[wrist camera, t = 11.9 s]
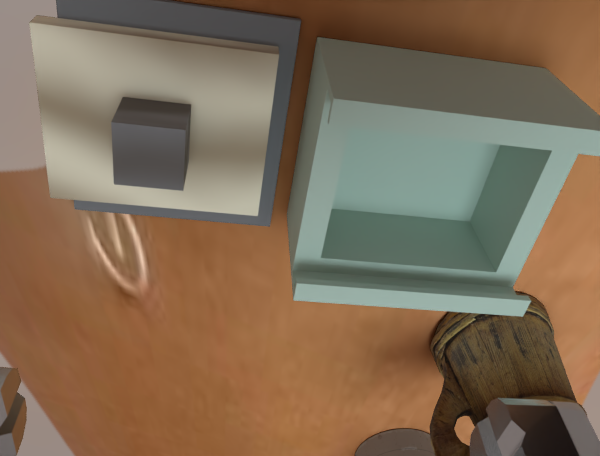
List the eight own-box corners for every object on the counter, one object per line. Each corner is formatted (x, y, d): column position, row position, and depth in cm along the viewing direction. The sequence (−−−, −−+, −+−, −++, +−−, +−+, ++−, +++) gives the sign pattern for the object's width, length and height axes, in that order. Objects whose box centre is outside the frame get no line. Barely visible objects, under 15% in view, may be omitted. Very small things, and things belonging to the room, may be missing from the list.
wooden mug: (378, 296, 42) (443, 558, 27) (560, 287, 42) (721, 539, 28) (370, 377, 47) (421, 632, 32) (532, 368, 47) (654, 614, 33)
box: (317, 36, 30) (333, 98, 24) (546, 68, 32) (619, 133, 25) (286, 214, 37) (293, 300, 30) (478, 231, 38) (522, 316, 32)
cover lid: (36, 15, 28) (7, 42, 25) (278, 46, 30) (281, 76, 27) (56, 186, 34) (34, 228, 31) (257, 205, 36) (257, 246, 32)
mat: (57, -16, 28) (54, -14, 28) (300, 18, 30) (301, 21, 29) (76, 205, 35) (74, 209, 35) (269, 222, 37) (269, 226, 37)
